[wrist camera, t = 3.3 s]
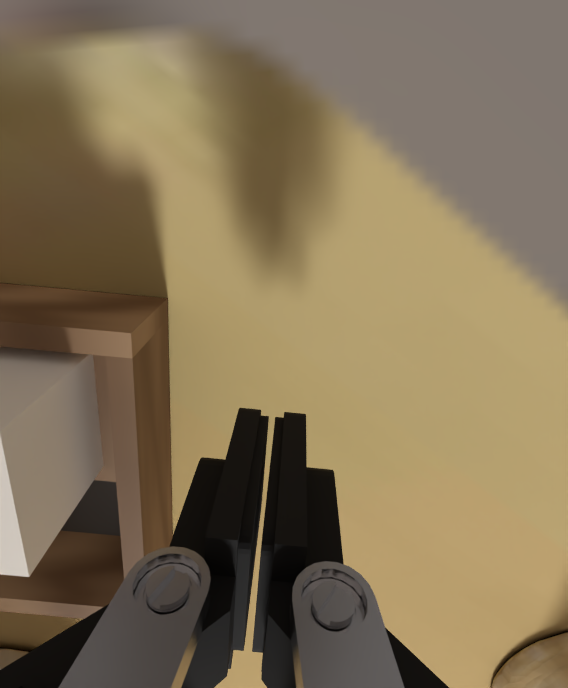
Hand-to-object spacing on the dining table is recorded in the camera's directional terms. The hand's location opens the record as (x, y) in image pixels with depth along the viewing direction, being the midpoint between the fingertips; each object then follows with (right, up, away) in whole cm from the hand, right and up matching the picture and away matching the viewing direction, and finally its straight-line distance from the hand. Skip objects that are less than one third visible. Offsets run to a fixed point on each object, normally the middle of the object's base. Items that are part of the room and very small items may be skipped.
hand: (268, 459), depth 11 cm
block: (-7, +1, +2) cm, 8 cm away
